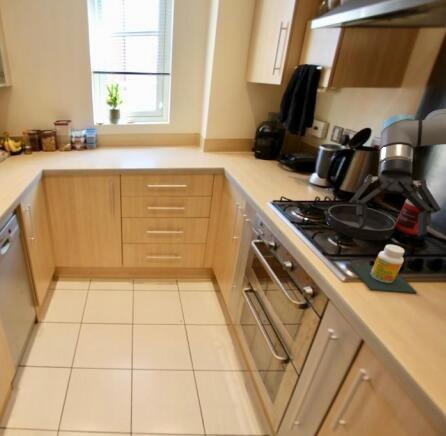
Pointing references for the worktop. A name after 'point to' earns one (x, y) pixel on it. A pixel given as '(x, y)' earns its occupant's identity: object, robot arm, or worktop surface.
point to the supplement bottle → (388, 264)
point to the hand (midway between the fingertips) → (391, 231)
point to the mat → (376, 285)
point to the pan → (349, 223)
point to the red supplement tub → (408, 219)
